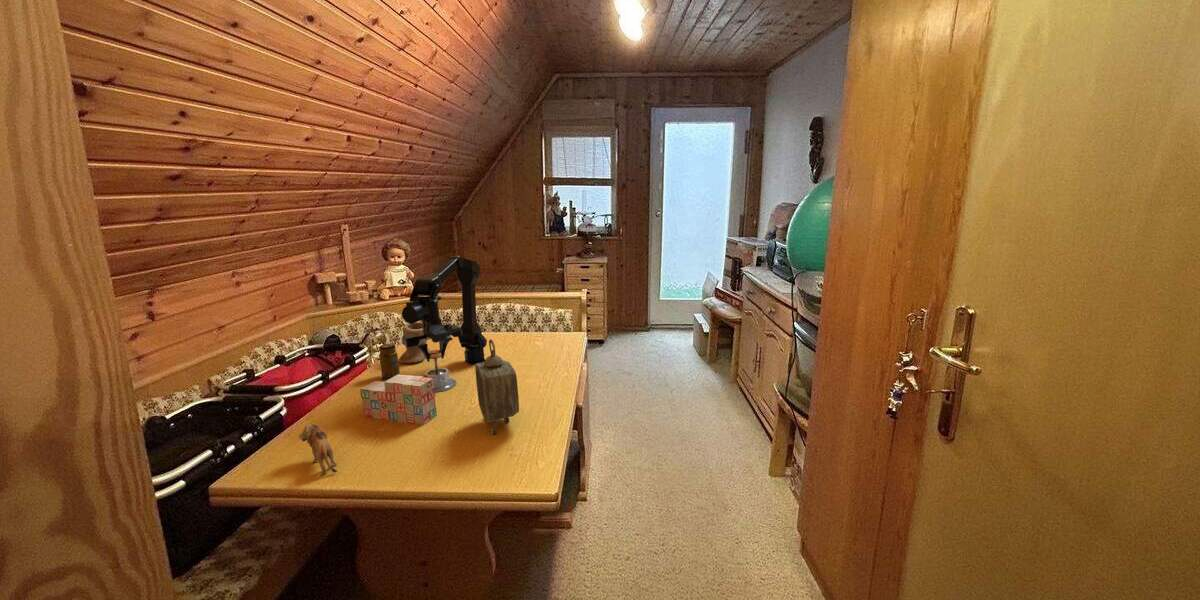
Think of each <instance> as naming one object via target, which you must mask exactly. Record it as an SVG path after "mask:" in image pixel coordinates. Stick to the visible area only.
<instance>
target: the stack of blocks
mask: <svg viewBox="0 0 1200 600" xmlns="http://www.w3.org/2000/svg"><path fill="white" fill-rule="evenodd" d="M423 376H424V375H411V374H410V375H406V374H402V375H399V374H398V375H396V376H394V377H392V378H391V379H389V380H387V381H385V382H383V381H378V380H377V381H376V380H375V381H372V382H370V383H368V384H367V385H366V386H363V387H362V388H360V389H359V392H360V397H361V400H362V401H361V402H362V408H363V413H364V417H365V418H371V419H376V418H377V419H376V420H383V419H385V420H384V421H391V420H393V422H399V421H400V422H399V423H407V424H414V425H420V426H425V425H427V423H430V421H432V420H433V419H434V418H436V417H437V406H436V393H434V385H433V378H427V377H423Z"/></svg>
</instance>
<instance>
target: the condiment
mask: <svg viewBox="0 0 1200 600" xmlns="http://www.w3.org/2000/svg"><path fill="white" fill-rule="evenodd" d="M378 349H379V354H378V357H379V365H380V371H381V375H377V377H378V378H379V379H380V380H381V382H385V381H387V380H388V379H391V378H392V377H394V376H396V375H398V374H399V373H401V372H400V364H399V363H400V362H399V356H398V351H397V350H396V345H395V343H383V344H381V345H380V346H379V348H378ZM399 375H400V374H399Z"/></svg>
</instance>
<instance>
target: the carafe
mask: <svg viewBox="0 0 1200 600" xmlns="http://www.w3.org/2000/svg"><path fill="white" fill-rule="evenodd" d="M438 370H443V371H444V373H443V374H440V375H430V372H432V371H435V368H432V369H428V370H427V371H425V373H424V374H423V375H422V376H423V377H427V378H433V385H434V389H439V388H444V387H446V386H448V385H449V384H450V378H451V377H450V370H449V369H448V368H446V367H438Z"/></svg>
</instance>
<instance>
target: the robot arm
mask: <svg viewBox="0 0 1200 600" xmlns="http://www.w3.org/2000/svg"><path fill="white" fill-rule="evenodd" d="M480 267H481V266H480V264H479V263H478V262H477V261H475V260H470V259H467V258H464V257H462V256H461V255H451V256H450V255H449V256H448V257H447V258H446V260H445V261H444V262H443V263H442V264H440V265H439V266H438V267H437V268H436V269H434V271H432V272H431V273H429V274H427V275H423V276H420V277H419V278H417V279H416V280H415V281H414V285H413V288H412V290H411V293H410V297H409V300H408V301H406V303H405V305H406V306H405V307H404V308H403V309H402V312H401V317H402V319H403V320H404V322H406V324H408V323H409V324H413V323H415V322H422V326H423V330H422V333H423V335H419V336H417V335H415V334H409V335H404V336H403V335H402V337H401V343H402V345H404V346H405V348H406V347H413V346H417V347H419V348H420V349H421V350H422V352H423V354H424V356H425V358H424V359H426V361H427V362H428V363H429V362H431V361H430V360H431V359H429V354H428V349H429V348H428V343H427V342H426V343H425V340H427V341H429V340H431V341H432V342H433V343H439V344H438V345H439V346H438V347H439V350H441V352H442V357H440V358H441V359H444V358H445V354H446V350H447V347H448V345H449V343H450V342H451V341H453V338H458V341H459V343H460V346H461V348H465V349H464V362H466V363H467V364H469V365H470V366H474V365H475V364H478V363H484V362H485V360H486V358H485V351H484V348H486V346H487V343H488V339H487V338H486V337H485V336H484V335H483V334H482V328H481V325H479V323H478V322H477V302H476V301H477V300H476V283H477V281H478V280H479V278H480V269H481V268H480ZM454 273H455V274H456V278H457V281H458V282H459V283H460V284H461V300H462V301H461V303H462V305H461V306H462V323H461V325H460V327H459V326H458V325H456V324H455V325H452V324H451V323H447V324H443V322H442V319H441V318H440V317H441V316H440V310H439V309H440V308H439V301H441V300H442V297H441V296H440V295H439V293H440V292H441V290H442V289H443V284H444V283H445V281H446V280H448V279H449V278H450V277H451V276H452V275H454ZM427 348H428V349H427Z"/></svg>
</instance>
